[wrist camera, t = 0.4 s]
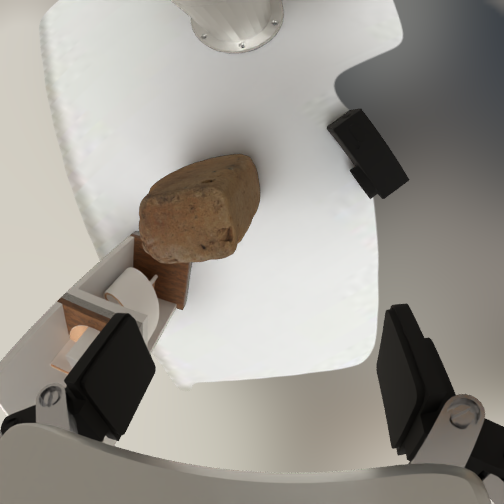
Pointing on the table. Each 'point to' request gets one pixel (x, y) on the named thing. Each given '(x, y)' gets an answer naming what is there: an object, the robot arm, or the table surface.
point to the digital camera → (368, 154)
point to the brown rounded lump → (200, 210)
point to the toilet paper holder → (93, 319)
